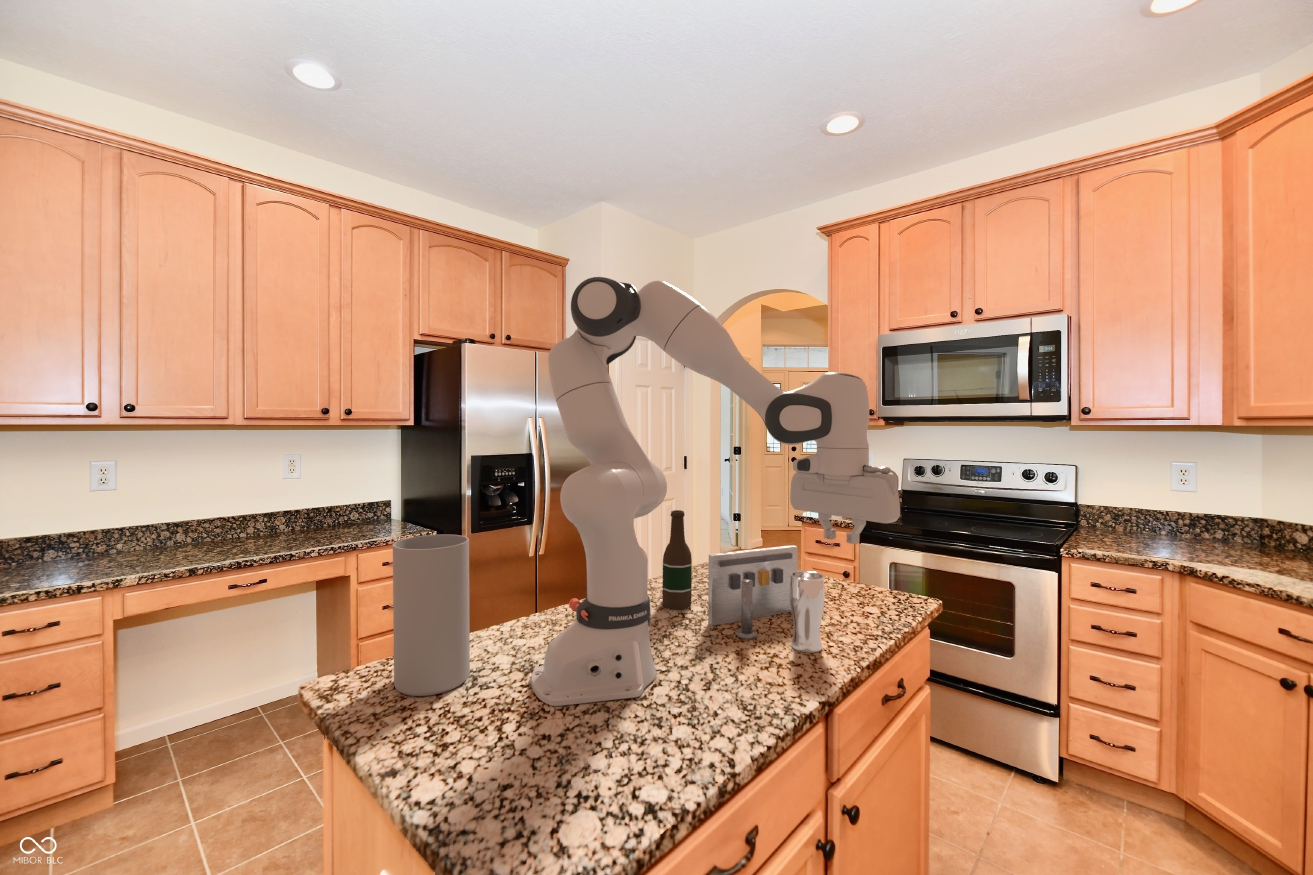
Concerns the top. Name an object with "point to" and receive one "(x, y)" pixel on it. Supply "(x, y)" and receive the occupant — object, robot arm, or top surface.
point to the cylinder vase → (431, 613)
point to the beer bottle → (677, 567)
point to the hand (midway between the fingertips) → (841, 540)
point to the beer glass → (807, 610)
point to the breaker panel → (763, 569)
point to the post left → (746, 611)
